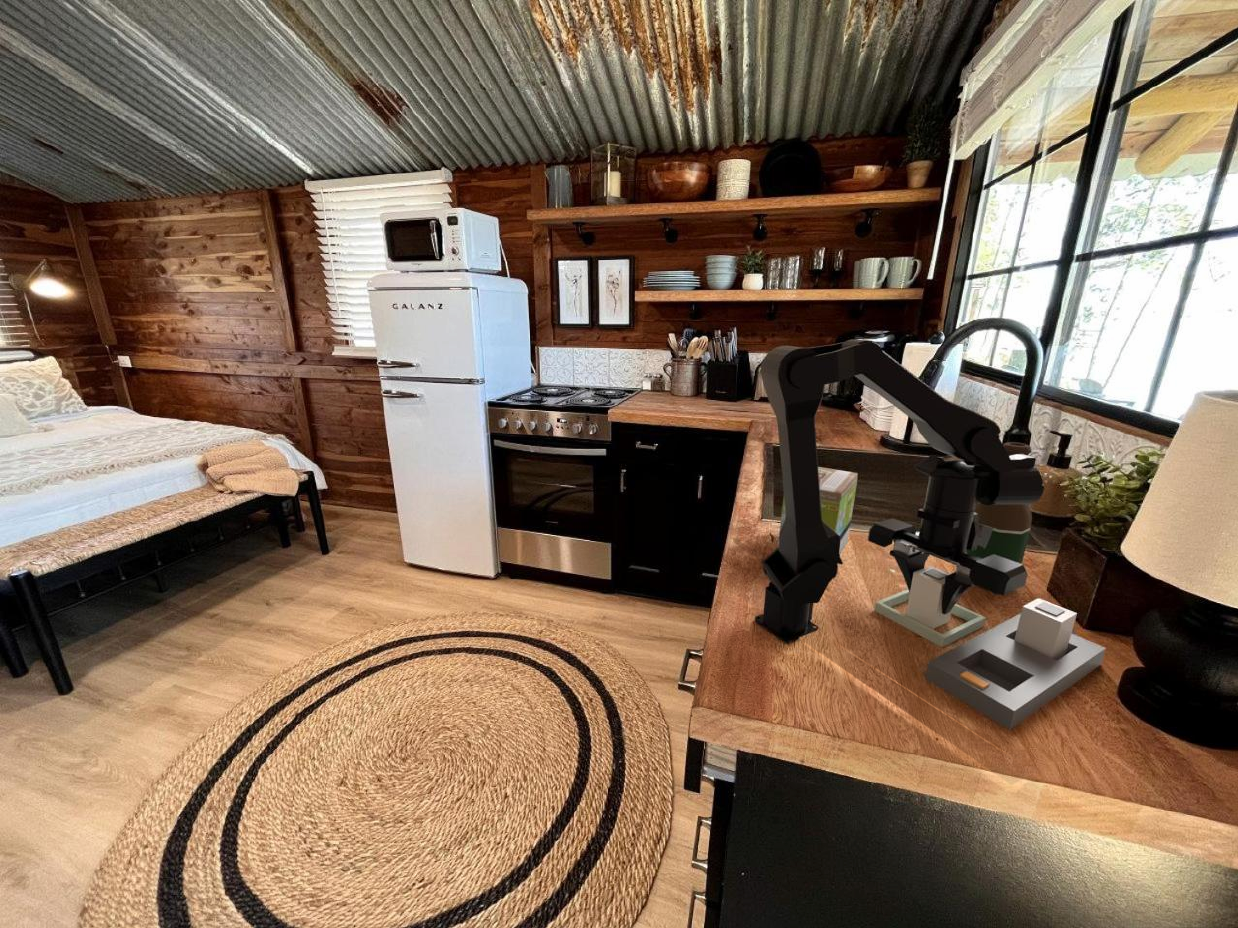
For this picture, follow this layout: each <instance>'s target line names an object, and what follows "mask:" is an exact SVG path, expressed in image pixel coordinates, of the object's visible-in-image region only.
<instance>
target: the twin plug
mask: <svg viewBox="0 0 1238 928" xmlns="http://www.w3.org/2000/svg"><path fill="white" fill-rule="evenodd" d="M1020 613H1021V616H1020V620H1019V624H1018V628H1017V632H1016V636H1015V640H1014V641H1017V642H1019V643H1021V644H1023V645H1025V646H1027V647H1029V648H1031V649H1034V650H1036V651H1038V652H1040V653H1042V654H1044V655H1046V656H1048V657H1050V658H1053V659H1055V660H1059V659H1060V658H1062V657H1063V656H1065V654H1066V650H1067V647H1068V643H1069V640H1070V636H1071V633H1072V629H1073V628H1074V626H1075V623H1076V618H1077V615H1078V613H1077V612H1075V611H1072V610H1069V609H1067V608H1065V607H1062V606H1059V605H1058V604H1054V603H1052V602H1049V601H1047V600H1044V599H1043V598H1039V597H1038V598H1036V599H1033V600H1032V601H1030V602H1028V603H1026V604H1025V605H1022V609H1021V612H1020ZM1073 630H1074V629H1073Z"/></svg>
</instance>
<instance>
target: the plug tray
mask: <svg viewBox="0 0 1238 928" xmlns="http://www.w3.org/2000/svg"><path fill="white" fill-rule="evenodd" d="M909 595H910V592H909V590H908V588H907V589H906V590H902V591H900V592H897V593H895V594H892V595H890V596H887V597H885V598H883V599H880V600H878V601H875V604H874V609H873V610H874V612H876V613H879V614H880V615H882V616H884V617H885V618H887V619H889V620H890V621H893V622H894V623H896V624H898V625H900V626H902V627H903V628H905V629H908V630H909V631H911V632H913V633H915V634H916V635H918V636H920V637H923V638H924V639H926V640H928V641H930V642H931V643H933V644H935V645H938V646H939V647H941V648H944V647H946V646H948V645H950V644H952V643H954V642H956V641H958V640H960V639H962V638H963V637H966V636H968V635H970V634H971V633H974V632H976V631H977V630H979V629H981V628H984V626H985V623H986V618H987V617H985V616H984V615H981V614H979V613H977V612H975V611H972V610H971V609H969V608H966V607H964V606H962V605H959V604H957V603H956V604H955V605H954V607H953V608H952V612H951V615H954V616H957V617H959V618H961V619H963V620H965V621H967V622H965V623H963V624H961V625H959V626H957V627H955V628H952V629H950V630H949V631H946V632H944V633H941V632H938V631H936V630H935V629H932V628H930V627H928V626H926V625H924V624H922V623H921V622H919V621H917V620H915V619H913V618H911V617H909V616H907V615H906V614H904V613H902V612H901V611H898V610H896V609H894V608H893V607H895V606H898V605H900V604H902V603H904V602H908V601H909Z"/></svg>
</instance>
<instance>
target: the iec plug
mask: <svg viewBox="0 0 1238 928" xmlns="http://www.w3.org/2000/svg"><path fill="white" fill-rule="evenodd" d="M949 574H950V573H948V572H946V571H943V570H941V569H938V568H936V567H934V566H931V565H929V566H927V567H924V569H921V570H918V571H916V572H914V573H913V578H912V584H911V589H910V595H909V600H907V607H906V613H905V615H906V616H908V617H910V618H912V619H914V620H916V621H918V622H920V623H922V624H923V625H925V626H927V627H929V628H931V629H933V630H935V629H936V628H939V627H940V626H944V625H945V624H947V623H949V622H950V620H951V616H952V613H951V612H952V609H951V611H950V612H949V613H947V614H945V615H944V614H942V599H943V592H944V585H945V578H946V576H947V575H949Z"/></svg>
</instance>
